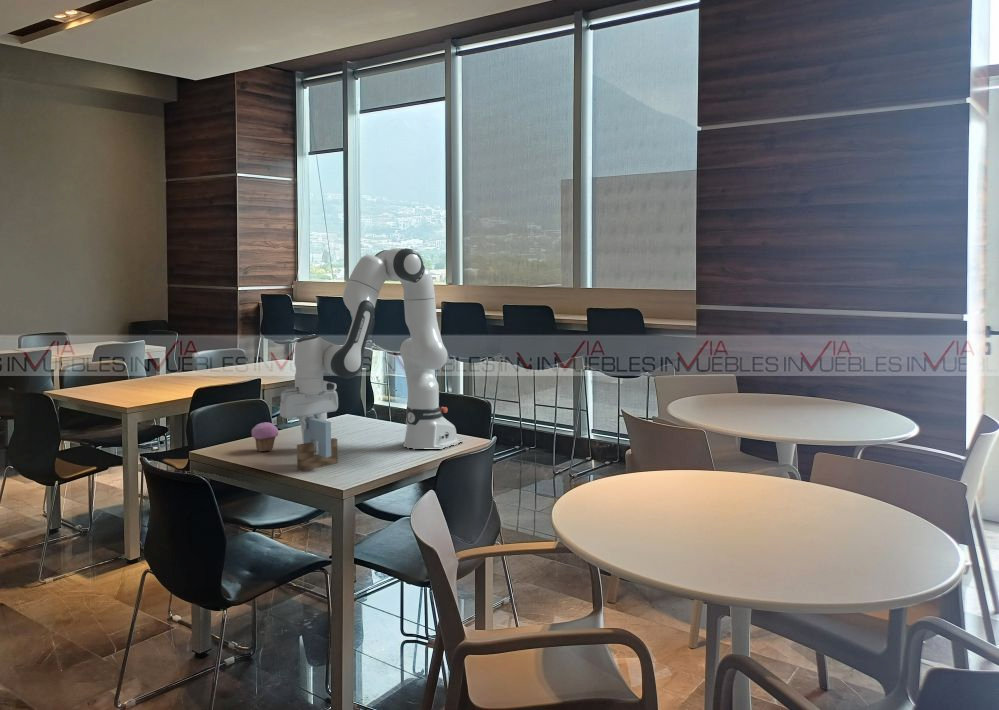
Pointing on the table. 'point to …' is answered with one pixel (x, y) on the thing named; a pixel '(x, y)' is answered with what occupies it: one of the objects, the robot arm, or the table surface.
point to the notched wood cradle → (315, 456)
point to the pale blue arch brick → (319, 435)
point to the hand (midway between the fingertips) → (309, 428)
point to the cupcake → (264, 436)
